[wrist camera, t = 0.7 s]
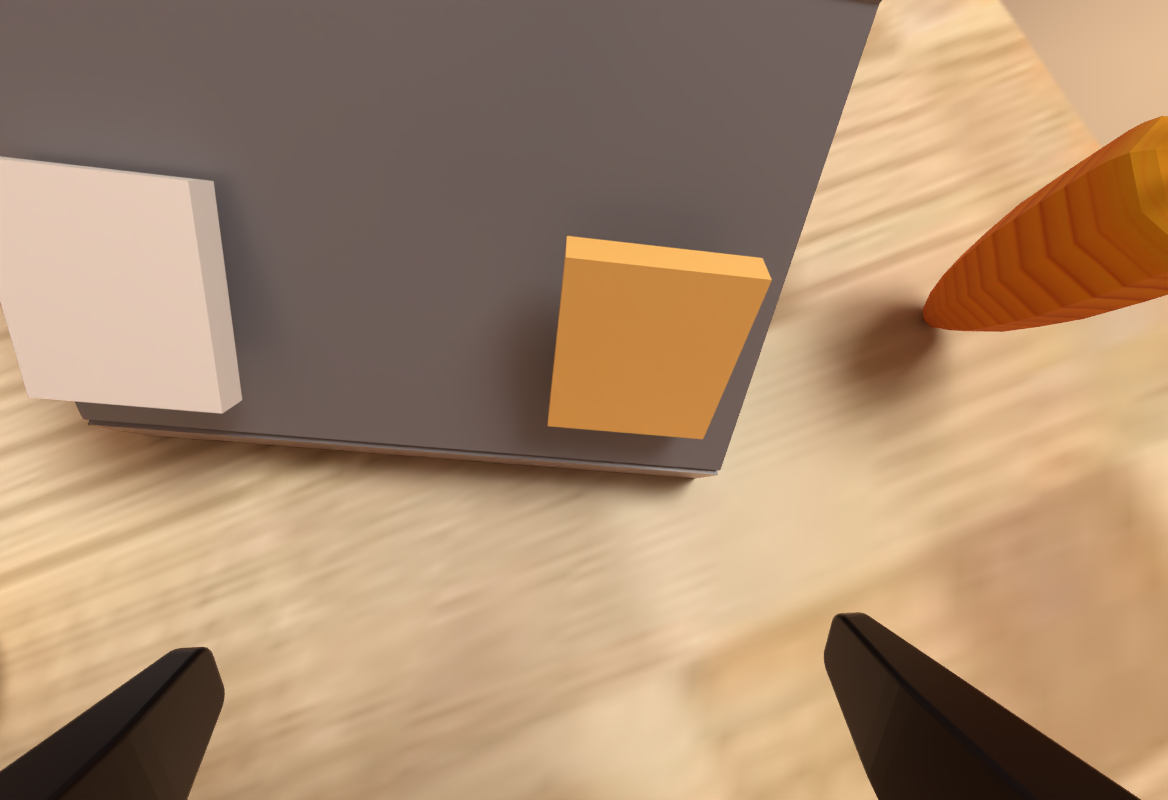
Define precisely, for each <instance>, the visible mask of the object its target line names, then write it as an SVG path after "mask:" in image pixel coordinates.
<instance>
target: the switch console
mask: <svg viewBox="0 0 1168 800" xmlns="http://www.w3.org/2000/svg"><path fill="white" fill-rule="evenodd" d="M881 1H882V0H0V156H1V157H10V158H18V159H27V160H36V161H44V162H53V163H62V164H70V165H79V166H88V167H96V168H105V169H114V170H122V171H131V172H140V173H148V174H157V175H166V176H174V177H183V178H192V179H200V180H209V181H214V188H215V196H216V204H217V211H218V219H219V227H220V234H221V242H222V249H223V257H224V265H225V272H226V280H227V287H228V295H229V303H230V310H231V318H232V325H233V333H234V341H235V348H236V356H237V363H238V371H239V379H240V386H241V394H242V401H240V402H239V403H237V404H236V405H234V406H233V407H231V408H230V409H228V410H227V411H225V412H224V413H223V414H222V413H210V412H197V411H185V410H173V409H161V408H149V407H137V406H125V405H113V404H101V403H89V402H77V401H75V403H76V405H77V407H78V409H79V411H80V413H81V416H82V418H83V419H88V420H89V423H88V425H93V426H98V427H104V428H109V429H115V430H120V431H126V432H132V433H137V434H143V435H151V436H163V437H176V438H189V439H201V440H214V441H227V442H239V443H252V444H265V445H277V446H290V447H303V448H316V449H328V450H341V451H354V452H366V453H379V454H392V455H404V456H417V457H430V458H442V459H455V460H468V461H480V462H493V463H506V464H518V465H531V466H544V467H556V468H569V469H582V470H595V471H607V472H620V473H633V474H645V475H658V476H671V477H683V478H701V477H707V476H713V475H718V470H720V469H721V466H722V463H723V460H724V457H725V454H726V452H727V449H728V446H729V443H730V440H731V437H732V434H733V431H734V428H735V425H736V422H737V419H738V416H739V413H740V410H741V408H742V405H743V402H744V399H745V396H746V393H747V390H748V387H749V384H750V381H751V378H752V375H753V372H754V369H755V366H756V364H757V361H758V358H759V355H760V352H761V349H762V346H763V343H764V340H765V337H766V334H767V331H768V328H769V325H770V322H771V320H772V317H773V314H774V311H775V308H776V305H777V302H778V299H779V296H780V293H781V290H782V287H783V284H784V281H785V279H786V276H787V273H788V270H789V267H790V264H791V261H792V258H793V255H794V252H795V249H796V246H797V243H798V240H799V237H800V235H801V232H802V229H803V226H804V223H805V220H806V217H807V214H808V211H809V208H810V205H811V202H812V199H813V196H814V193H815V191H816V188H817V185H818V182H819V179H820V176H821V173H822V170H823V167H824V164H825V161H826V158H827V155H828V152H829V149H830V147H831V144H832V141H833V138H834V135H835V132H836V129H837V126H838V123H839V120H840V117H841V114H842V111H843V108H844V105H845V103H846V100H847V97H848V94H849V91H850V88H851V85H852V82H853V79H854V76H855V73H856V70H857V67H858V64H859V61H860V59H861V56H862V53H863V50H864V47H865V44H866V41H867V38H868V35H869V32H870V29H871V26H872V23H873V20H874V17H875V15H876V12H877V9H878V6H879V3H880V2H881ZM567 236H573V237H582V238H591V239H599V240H608V241H617V242H626V243H635V244H644V245H652V246H661V247H670V248H679V249H688V250H696V251H705V252H714V253H723V254H732V255H741V256H749V257H758V258H763V260H764V263H765V265H766V267H767V270H768V272H769V274H770V277H771V279H772V281H771V283H770V285H769V288H768V290H767V292H766V295H765V297H764V299H763V302H762V304H761V306H760V309H759V311H758V313H757V316H756V318H755V320H754V323H753V325H752V327H751V329H750V332H749V334H748V336H747V339H746V341H745V343H744V346H743V348H742V350H741V353H740V355H739V357H738V360H737V362H736V364H735V367H734V369H733V371H732V374H731V376H730V378H729V380H728V383H727V385H726V387H725V390H724V392H723V394H722V397H721V399H720V401H719V404H718V406H717V408H716V411H715V413H714V415H713V418H712V420H711V422H710V425H709V427H708V429H707V431H706V434H705V436H704V438H703V439H693V438H682V437H670V436H658V435H646V434H634V433H623V432H611V431H599V430H587V429H575V428H564V427H552V426H548V414H549V401H550V392H551V382H552V373H553V363H554V354H555V344H556V335H557V325H558V316H559V306H560V297H561V287H562V277H563V268H564V258H565V249H566V239H567Z"/></svg>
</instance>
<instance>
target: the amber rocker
mask: <svg viewBox="0 0 1168 800" xmlns="http://www.w3.org/2000/svg"><path fill="white" fill-rule="evenodd" d="M771 281H772V279H771V277H770V274H769V272H768V270H767V267H766V265H765V263H764V260H763V258H758V257H749V256H741V255H732V254H723V253H714V252H705V251H696V250H688V249H679V248H670V247H661V246H652V245H644V244H635V243H626V242H617V241H608V240H599V239H591V238H582V237H573V236H567V239H566V249H565V258H564V268H563V277H562V287H561V297H560V306H559V316H558V325H557V335H556V344H555V354H554V363H553V373H552V382H551V392H550V401H549V414H548V426H552V427H564V428H575V429H587V430H599V431H611V432H623V433H634V434H646V435H658V436H670V437H682V438H693V439H703V438H704V436H705V434H706V431H707V429H708V427H709V425H710V422H711V420H712V418H713V415H714V413H715V411H716V408H717V406H718V404H719V401H720V399H721V397H722V394H723V392H724V390H725V387H726V385H727V383H728V380H729V378H730V376H731V374H732V371H733V369H734V367H735V364H736V362H737V360H738V357H739V355H740V353H741V350H742V348H743V346H744V343H745V341H746V339H747V336H748V334H749V332H750V329H751V327H752V325H753V323H754V320H755V318H756V316H757V313H758V311H759V309H760V306H761V304H762V302H763V299H764V297H765V295H766V292H767V290H768V288H769V285H770V283H771Z"/></svg>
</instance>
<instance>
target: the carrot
mask: <svg viewBox="0 0 1168 800" xmlns="http://www.w3.org/2000/svg"><path fill="white" fill-rule="evenodd" d="M1164 295H1168V117H1167V116H1161V117H1158V118H1155V119H1152V120H1150V121H1147V122H1144V123H1142V124H1140V125H1138V126H1136V127H1134V128H1133V129H1131V130H1129V131H1127V132H1126V133H1124V134H1123V135H1121V136H1120V137H1118V138H1117V139H1115V140H1114V141H1112V142H1110V143H1109V144H1107V145H1106V146H1104V147H1103V148H1101V149H1100V150H1098V151H1097V152H1095V153H1094V154H1092V155H1091V156H1089V157H1088V158H1086V159H1085V160H1083V161H1082V162H1080V163H1079V164H1077V165H1075V166H1074V167H1072V168H1071V169H1069V170H1068V171H1066V172H1065V173H1064V174H1062V175H1061V176H1059V177H1058V178H1056V179H1055V180H1053V181H1052V182H1051V183H1049V184H1048V185H1046V186H1045V187H1043V188H1042V189H1041V190H1039V191H1038V192H1036V193H1035V194H1033V195H1032V196H1030V197H1029V198H1028V199H1026V200H1025V201H1023V202H1022V203H1020V204H1019V205H1018V206H1017V207H1015V208H1014V209H1013V210H1012V211H1011V212H1010V213H1008V214H1007V215H1006V216H1005V217H1004V218H1003V219H1001V220H1000V221H999V222H998V223H997V224H996V225H994V226H993V227H992V228H991V229H990V230H989V231H987V232H986V233H985V234H984V235H983V236H982V237H981V238H980V239H979V240H978V241H977V242H976V243H975V244H974V245H972V246H971V247H970V248H969V249H968V250H967V251H966V252H965V253H964V254H963V255H962V256H961V257H960V258H959V259H958V260H957V261H956V262H955V263H954V264H953V265H952V266H951V267H950V269H949V270H948V271H947V272H946V273H945V274H944V275H943V276H942V278H941V279H940V280H939V282H938V283H937V284H936V286H935V287H934V288H933V290H932V291H931V293H930V295H929V297H928V299H927V301H926V303H925V306H924V308H923V319H924V320H925V321H926V322H927V323H928V324H929V325H930V326H931V327H935V328H941V329H947V330H958V331H1001V332H1003V331H1010V330H1018V329H1025V328H1032V327H1040V326H1046V325H1051V324H1057V323H1063V322H1068V321H1074V320H1080V319H1084V318H1088V317H1091V316H1095V315H1099V314H1102V313H1106V312H1109V311H1113V310H1117V309H1120V308H1124V307H1127V306H1131V305H1134V304H1138V303H1142V302H1145V301H1148V300H1151V299H1155V298H1158V297H1161V296H1164Z"/></svg>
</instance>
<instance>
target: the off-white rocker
mask: <svg viewBox="0 0 1168 800" xmlns="http://www.w3.org/2000/svg"><path fill="white" fill-rule="evenodd" d="M0 302H1V305H2V309H3V312H4V316H5V319H6V323H7V326H8V330H9V333H10V336H11V340H12V343H13V347H14V350H15V354H16V357H17V361H18V364H19V368H20V371H21V375H22V378H23V381H24V385H25V388H26V392H27V395H28V398H40V399H52V400H64V401H77V402H89V403H101V404H113V405H125V406H137V407H149V408H161V409H173V410H185V411H197V412H210V413H222V414H223V413H224V412H225V411H227V410H228V409H230V408H231V407H233V406H234V405H236V404H237V403H239V402H240V401H242V394H241V386H240V379H239V371H238V363H237V356H236V348H235V341H234V333H233V325H232V318H231V310H230V303H229V295H228V287H227V280H226V272H225V265H224V257H223V249H222V242H221V234H220V227H219V219H218V211H217V204H216V196H215V188H214V181H209V180H200V179H192V178H183V177H174V176H166V175H157V174H148V173H140V172H131V171H122V170H114V169H105V168H96V167H88V166H79V165H70V164H62V163H53V162H44V161H36V160H27V159H18V158H10V157H1V156H0Z"/></svg>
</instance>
